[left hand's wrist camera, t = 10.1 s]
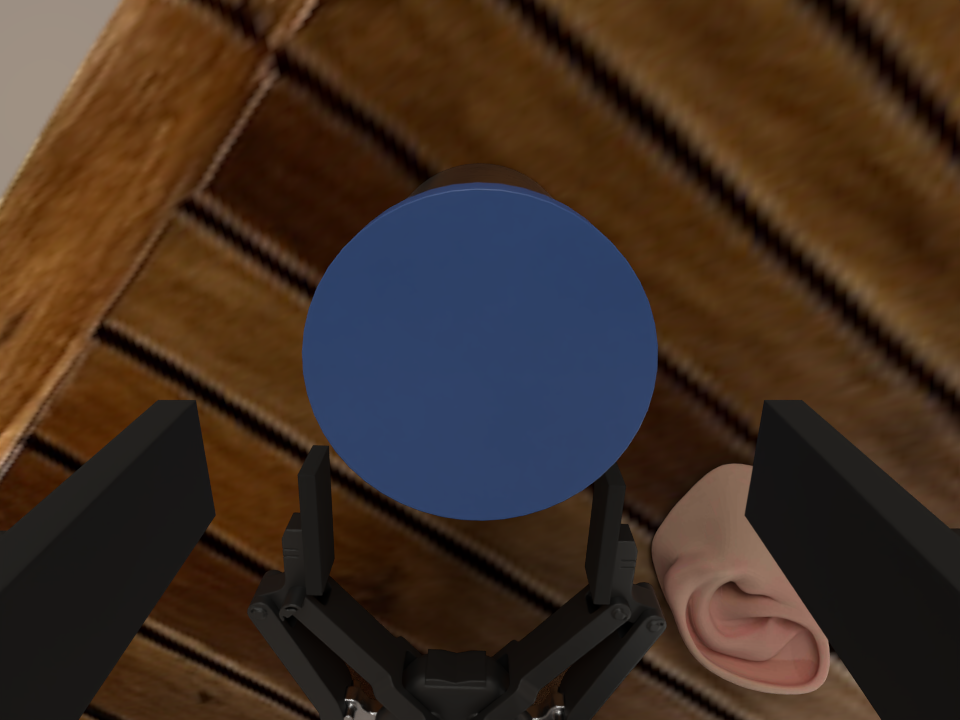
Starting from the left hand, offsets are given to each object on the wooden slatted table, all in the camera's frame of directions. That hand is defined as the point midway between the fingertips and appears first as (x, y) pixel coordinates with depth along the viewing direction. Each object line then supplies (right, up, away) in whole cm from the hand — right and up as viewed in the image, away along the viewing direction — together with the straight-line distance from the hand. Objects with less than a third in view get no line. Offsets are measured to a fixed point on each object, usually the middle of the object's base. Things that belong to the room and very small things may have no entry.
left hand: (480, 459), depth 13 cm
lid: (0, +2, +5) cm, 5 cm away
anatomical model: (+16, -10, +25) cm, 32 cm away
